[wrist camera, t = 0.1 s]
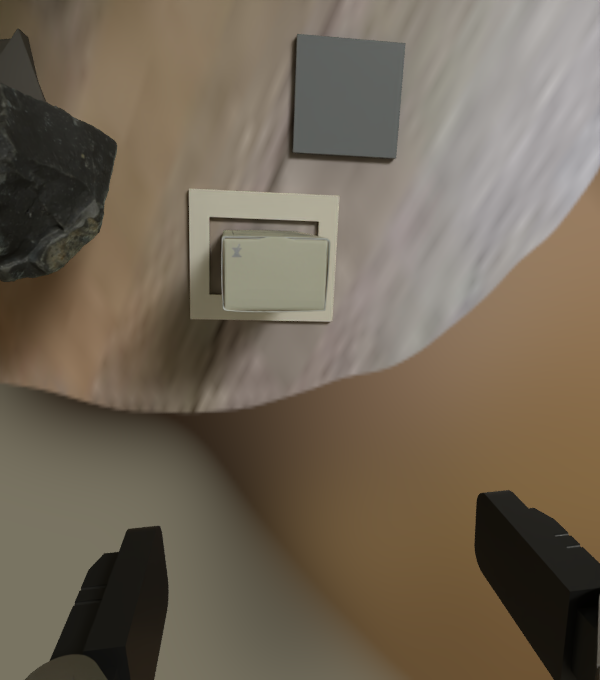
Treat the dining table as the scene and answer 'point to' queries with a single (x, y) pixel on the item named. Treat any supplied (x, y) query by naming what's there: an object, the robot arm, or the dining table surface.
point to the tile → (347, 96)
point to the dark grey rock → (45, 172)
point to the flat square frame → (253, 207)
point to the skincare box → (274, 271)
